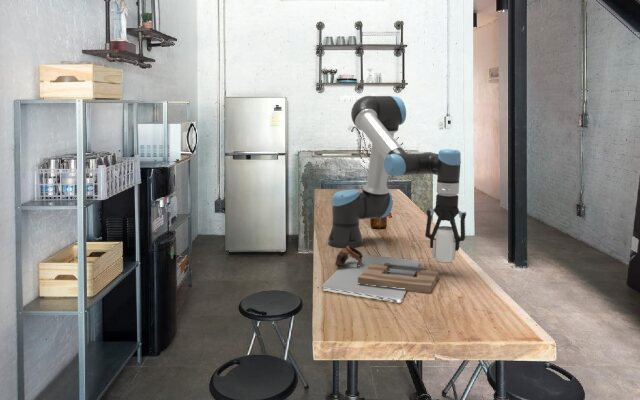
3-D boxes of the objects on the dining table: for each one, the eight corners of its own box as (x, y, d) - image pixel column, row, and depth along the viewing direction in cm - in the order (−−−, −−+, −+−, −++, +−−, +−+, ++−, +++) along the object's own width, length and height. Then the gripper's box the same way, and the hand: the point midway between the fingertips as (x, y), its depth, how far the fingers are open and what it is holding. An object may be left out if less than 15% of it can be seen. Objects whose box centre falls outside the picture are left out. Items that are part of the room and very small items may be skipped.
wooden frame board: (372, 270, 193) (372, 263, 193) (439, 277, 184) (439, 270, 184) (357, 284, 176) (358, 277, 176) (430, 293, 168) (430, 285, 167)
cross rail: (385, 271, 192) (385, 262, 191) (426, 275, 186) (426, 267, 186) (383, 272, 190) (384, 264, 189) (425, 277, 185) (425, 268, 184)
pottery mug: (340, 261, 206) (351, 244, 205) (358, 276, 201) (369, 258, 200) (325, 261, 196) (336, 242, 194) (344, 276, 191) (355, 257, 190)
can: (441, 256, 193) (442, 224, 191) (456, 260, 188) (458, 228, 186) (431, 260, 188) (432, 227, 186) (447, 264, 184) (449, 231, 182)
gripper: (417, 193, 184) (414, 257, 188) (474, 198, 177) (470, 264, 181) (421, 190, 191) (419, 252, 195) (476, 194, 184) (472, 258, 188)
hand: (443, 257), depth 188 cm, fingers closed on can, 6 cm apart
